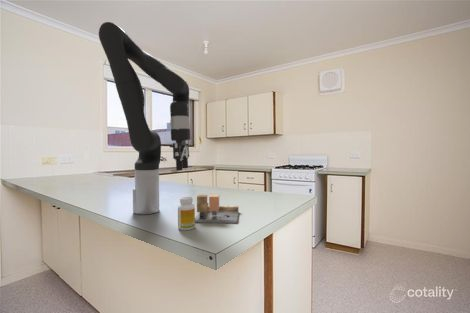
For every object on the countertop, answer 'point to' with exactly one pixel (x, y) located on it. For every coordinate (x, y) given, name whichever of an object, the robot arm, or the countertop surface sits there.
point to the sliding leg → (214, 204)
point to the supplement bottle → (186, 214)
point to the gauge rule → (203, 206)
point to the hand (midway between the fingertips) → (182, 169)
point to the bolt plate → (218, 217)
